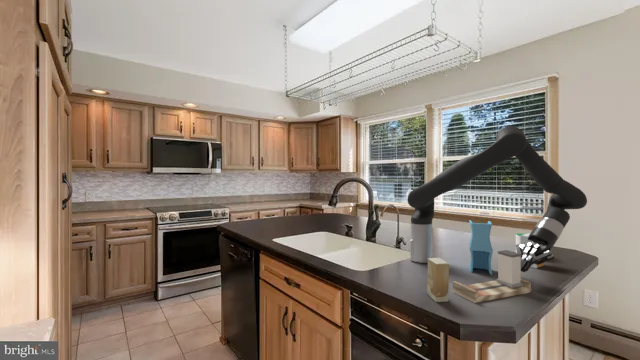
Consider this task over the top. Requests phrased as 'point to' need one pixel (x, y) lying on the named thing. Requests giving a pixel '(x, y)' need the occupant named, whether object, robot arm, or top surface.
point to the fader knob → (509, 268)
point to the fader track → (489, 290)
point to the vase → (480, 246)
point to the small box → (522, 241)
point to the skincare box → (438, 279)
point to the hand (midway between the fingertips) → (521, 270)
